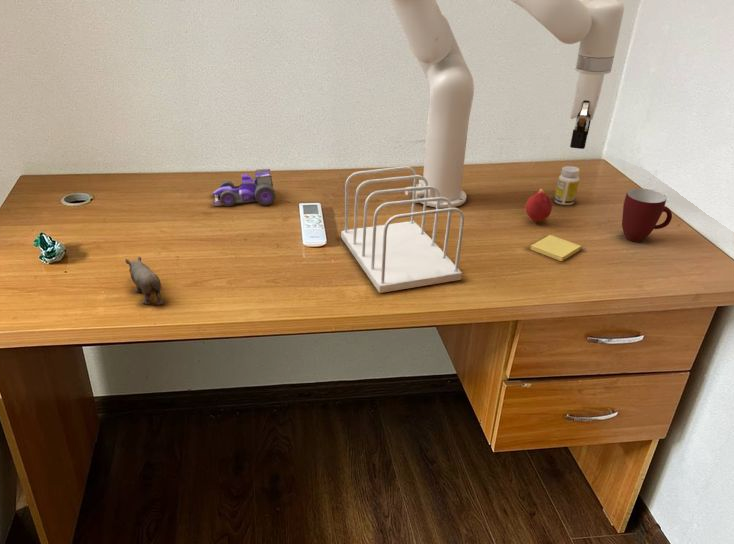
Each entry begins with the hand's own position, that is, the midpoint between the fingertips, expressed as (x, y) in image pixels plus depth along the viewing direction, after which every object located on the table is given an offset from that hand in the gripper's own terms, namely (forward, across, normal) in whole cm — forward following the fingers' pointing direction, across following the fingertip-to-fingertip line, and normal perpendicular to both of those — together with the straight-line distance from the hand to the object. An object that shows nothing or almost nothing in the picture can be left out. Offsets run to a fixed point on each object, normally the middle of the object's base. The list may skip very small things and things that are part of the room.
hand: (578, 141), depth 155 cm
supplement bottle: (+15, 0, -1) cm, 15 cm away
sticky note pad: (+15, +28, 0) cm, 31 cm away
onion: (+15, +15, -6) cm, 22 cm away
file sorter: (+14, +44, -30) cm, 55 cm away
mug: (+15, +15, +17) cm, 27 cm away
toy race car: (+14, +28, -75) cm, 81 cm away
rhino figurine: (+14, +74, -72) cm, 104 cm away
